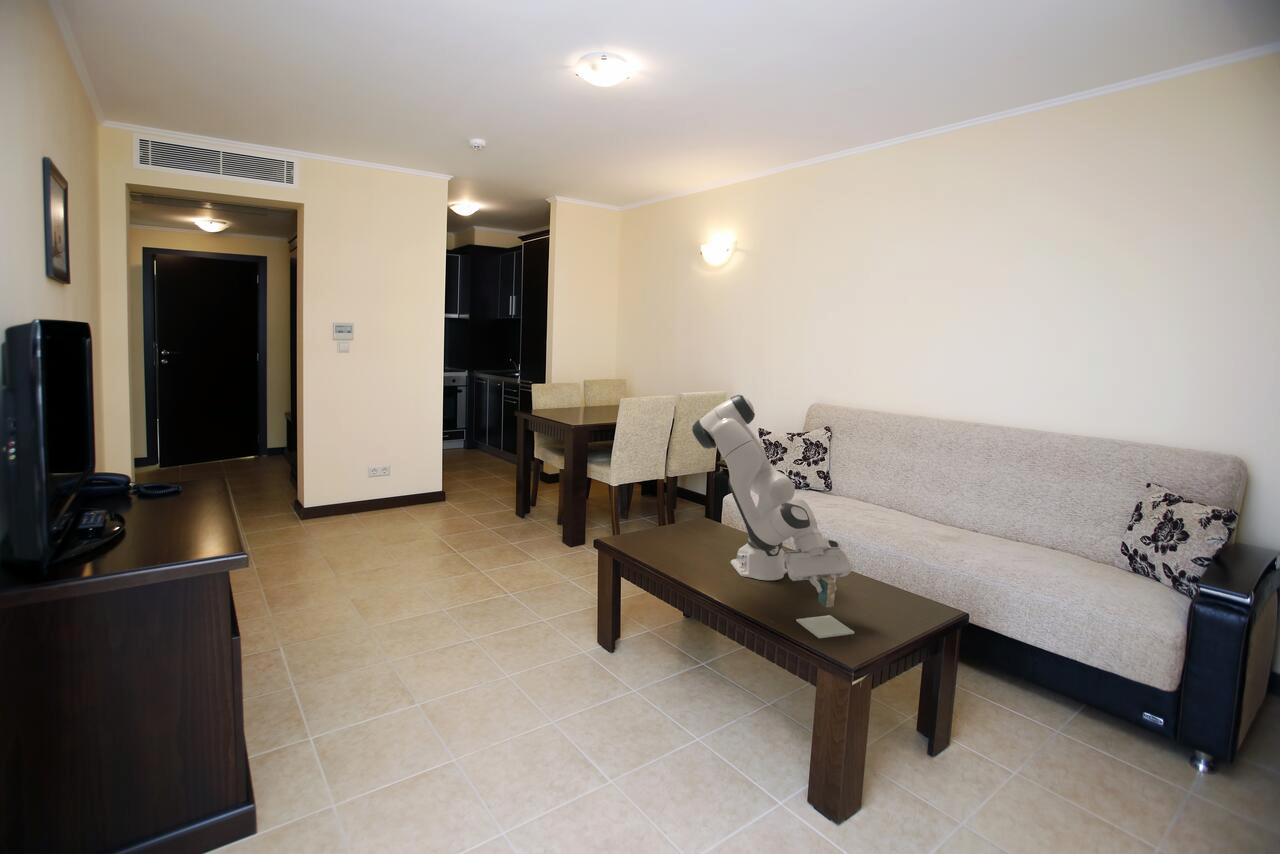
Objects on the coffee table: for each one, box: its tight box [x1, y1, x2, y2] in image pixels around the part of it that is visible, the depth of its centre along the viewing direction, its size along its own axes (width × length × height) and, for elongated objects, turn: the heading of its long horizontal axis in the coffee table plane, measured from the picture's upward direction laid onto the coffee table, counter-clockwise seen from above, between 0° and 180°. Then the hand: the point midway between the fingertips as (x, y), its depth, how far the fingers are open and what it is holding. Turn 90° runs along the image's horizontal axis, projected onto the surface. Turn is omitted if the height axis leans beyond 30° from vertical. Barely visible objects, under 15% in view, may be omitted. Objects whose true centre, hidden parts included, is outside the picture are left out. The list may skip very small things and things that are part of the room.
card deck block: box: [817, 577, 837, 608], centre depth 192 cm, size 3×4×8 cm
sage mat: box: [795, 614, 855, 639], centre depth 194 cm, size 12×12×1 cm
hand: (827, 591), depth 192 cm, fingers closed on card deck block, 3 cm apart
